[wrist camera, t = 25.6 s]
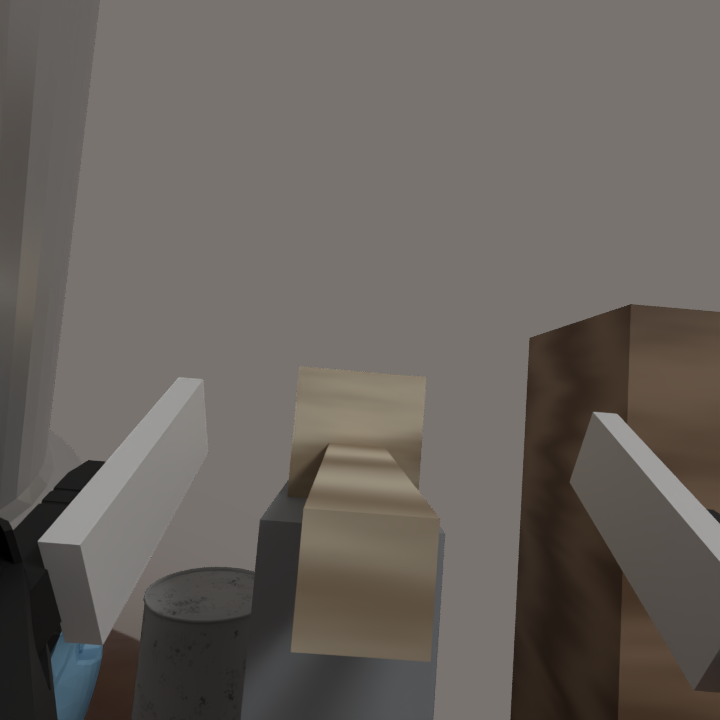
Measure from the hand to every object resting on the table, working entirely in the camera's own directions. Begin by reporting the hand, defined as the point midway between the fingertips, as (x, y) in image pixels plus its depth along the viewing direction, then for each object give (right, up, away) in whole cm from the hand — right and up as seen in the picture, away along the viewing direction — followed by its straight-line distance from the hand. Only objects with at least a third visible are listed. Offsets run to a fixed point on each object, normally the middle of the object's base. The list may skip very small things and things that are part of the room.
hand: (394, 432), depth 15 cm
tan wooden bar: (-1, -5, +5) cm, 7 cm away
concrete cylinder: (-13, -27, +19) cm, 36 cm away
